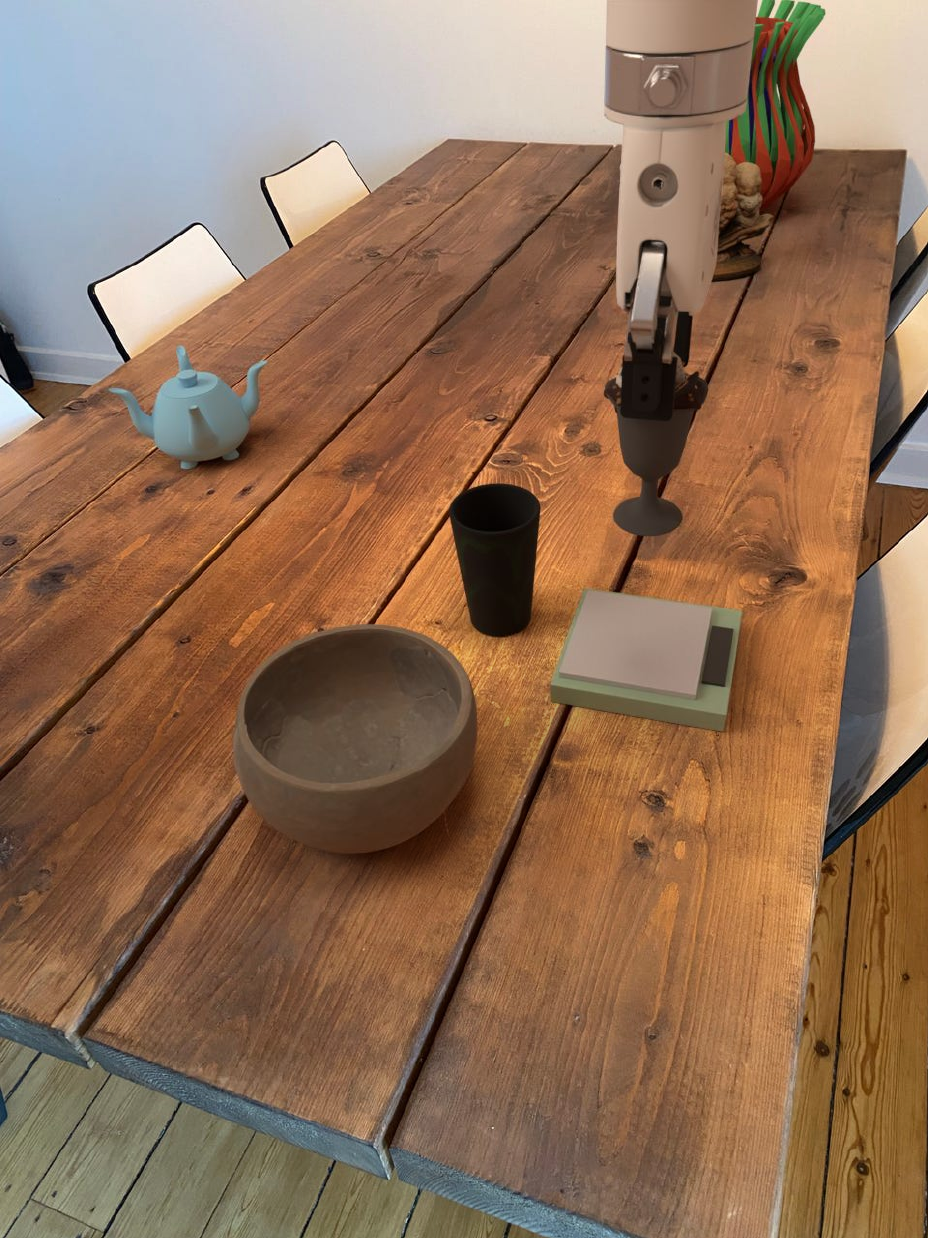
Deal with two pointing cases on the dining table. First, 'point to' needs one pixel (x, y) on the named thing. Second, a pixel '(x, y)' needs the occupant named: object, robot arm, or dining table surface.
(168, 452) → the teapot
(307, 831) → the bowl
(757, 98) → the vase
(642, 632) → the scale
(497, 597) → the cup
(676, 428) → the sundae
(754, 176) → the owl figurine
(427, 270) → the dining table surface
